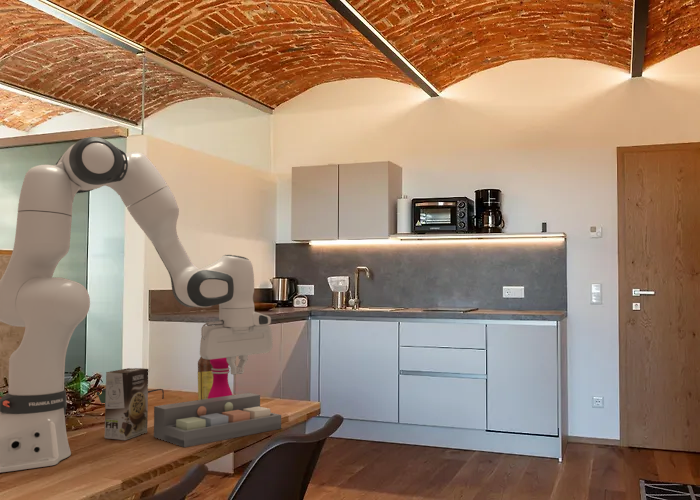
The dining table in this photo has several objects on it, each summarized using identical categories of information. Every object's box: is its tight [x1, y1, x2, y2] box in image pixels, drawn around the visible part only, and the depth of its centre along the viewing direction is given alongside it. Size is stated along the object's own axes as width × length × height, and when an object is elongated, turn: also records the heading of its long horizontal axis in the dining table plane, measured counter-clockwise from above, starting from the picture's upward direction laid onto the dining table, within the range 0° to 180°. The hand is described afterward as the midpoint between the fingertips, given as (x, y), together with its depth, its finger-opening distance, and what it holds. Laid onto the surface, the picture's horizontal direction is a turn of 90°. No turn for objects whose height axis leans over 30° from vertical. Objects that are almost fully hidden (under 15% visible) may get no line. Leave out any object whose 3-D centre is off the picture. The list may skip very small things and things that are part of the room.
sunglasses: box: [96, 387, 165, 404], centre depth 218 cm, size 16×17×5 cm
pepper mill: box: [208, 358, 233, 399], centre depth 196 cm, size 7×7×20 cm
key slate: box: [200, 413, 228, 427], centre depth 170 cm, size 5×5×2 cm
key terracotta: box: [222, 410, 250, 423], centre depth 175 cm, size 5×5×2 cm
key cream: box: [243, 406, 271, 419], centre depth 180 cm, size 5×5×2 cm
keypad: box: [153, 392, 282, 448], centre depth 175 cm, size 28×14×8 cm, turn 134°
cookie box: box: [104, 367, 149, 441], centre depth 172 cm, size 9×6×16 cm
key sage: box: [176, 417, 206, 430], centre depth 166 cm, size 5×5×2 cm
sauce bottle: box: [197, 356, 213, 400], centre depth 213 cm, size 7×6×20 cm
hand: (237, 373), depth 176 cm, fingers closed
